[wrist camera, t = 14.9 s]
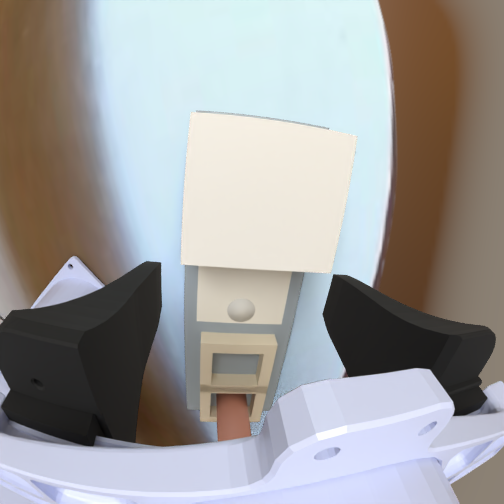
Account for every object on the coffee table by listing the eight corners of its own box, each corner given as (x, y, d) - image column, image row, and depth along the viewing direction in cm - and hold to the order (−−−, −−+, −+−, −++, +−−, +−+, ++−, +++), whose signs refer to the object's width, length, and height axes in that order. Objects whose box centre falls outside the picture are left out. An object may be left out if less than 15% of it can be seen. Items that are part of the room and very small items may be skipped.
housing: (309, 244, 21) (330, 273, 17) (188, 236, 20) (180, 264, 16) (327, 134, 18) (357, 136, 14) (197, 117, 17) (190, 112, 13)
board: (268, 403, 30) (272, 421, 27) (187, 401, 29) (186, 420, 26) (323, 128, 20) (337, 128, 17) (197, 111, 18) (193, 108, 16)
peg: (233, 406, 28) (238, 453, 22) (210, 396, 27) (211, 445, 21) (252, 392, 27) (259, 441, 22) (228, 381, 26) (231, 432, 21)
